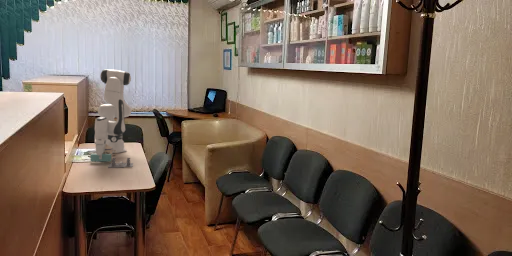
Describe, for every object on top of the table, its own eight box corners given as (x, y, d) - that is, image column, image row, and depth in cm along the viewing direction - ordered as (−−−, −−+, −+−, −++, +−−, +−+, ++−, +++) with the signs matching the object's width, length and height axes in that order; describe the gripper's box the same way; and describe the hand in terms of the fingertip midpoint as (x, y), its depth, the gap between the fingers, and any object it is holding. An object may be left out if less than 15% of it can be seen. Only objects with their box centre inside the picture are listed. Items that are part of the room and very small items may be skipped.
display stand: (109, 164, 297) (110, 156, 296) (133, 164, 301) (133, 156, 300) (108, 167, 287) (108, 160, 286) (132, 167, 291) (132, 160, 290)
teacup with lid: (98, 160, 306) (98, 145, 304) (100, 158, 315) (100, 143, 313) (115, 160, 308) (115, 145, 307) (117, 158, 317) (117, 143, 315)
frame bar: (91, 160, 299) (91, 153, 298) (111, 160, 302) (111, 153, 302) (90, 161, 297) (90, 154, 296) (111, 161, 300) (111, 154, 299)
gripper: (98, 136, 306) (98, 155, 309) (94, 142, 287) (94, 161, 289) (107, 137, 308) (107, 155, 310) (103, 142, 288) (103, 162, 290)
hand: (101, 158), depth 299 cm, fingers closed on frame bar, 2 cm apart
